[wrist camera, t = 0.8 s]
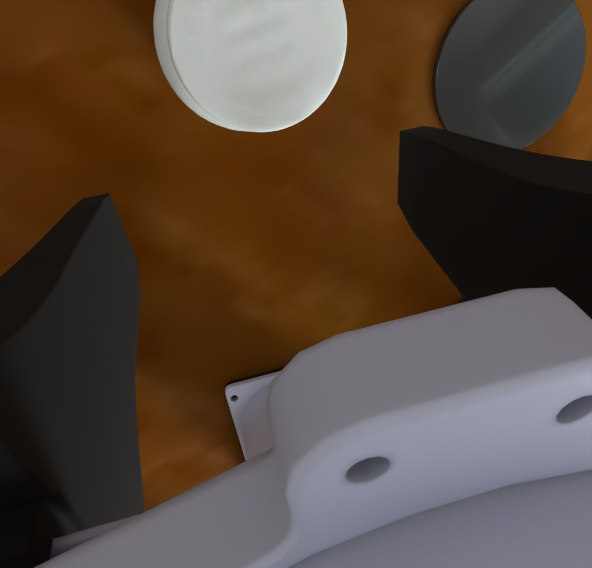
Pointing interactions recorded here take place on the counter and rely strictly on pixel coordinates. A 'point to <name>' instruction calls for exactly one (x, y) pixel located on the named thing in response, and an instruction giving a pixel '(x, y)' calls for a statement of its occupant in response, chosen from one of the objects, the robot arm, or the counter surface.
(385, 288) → the counter surface
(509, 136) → the coaster
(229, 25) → the pill bottle
